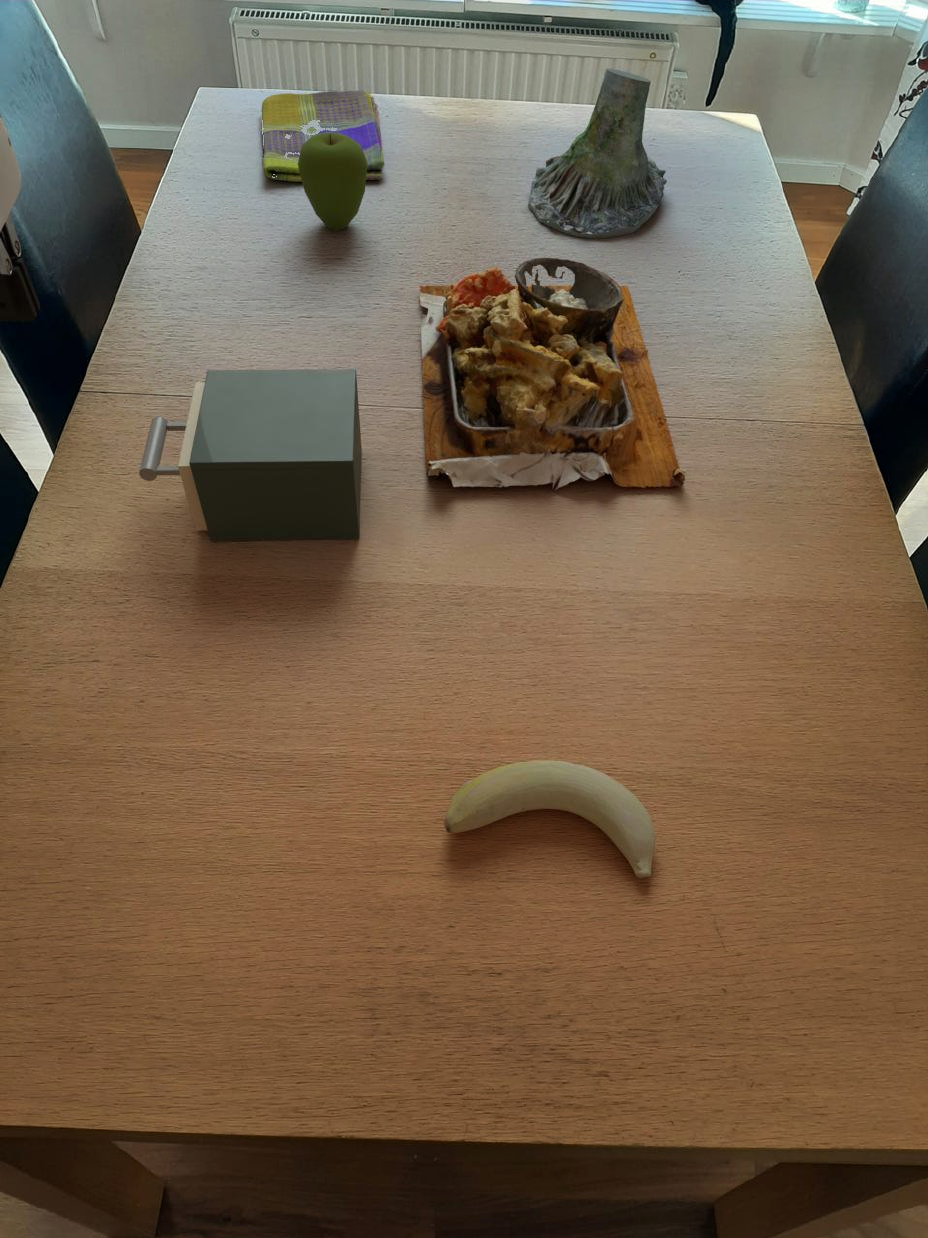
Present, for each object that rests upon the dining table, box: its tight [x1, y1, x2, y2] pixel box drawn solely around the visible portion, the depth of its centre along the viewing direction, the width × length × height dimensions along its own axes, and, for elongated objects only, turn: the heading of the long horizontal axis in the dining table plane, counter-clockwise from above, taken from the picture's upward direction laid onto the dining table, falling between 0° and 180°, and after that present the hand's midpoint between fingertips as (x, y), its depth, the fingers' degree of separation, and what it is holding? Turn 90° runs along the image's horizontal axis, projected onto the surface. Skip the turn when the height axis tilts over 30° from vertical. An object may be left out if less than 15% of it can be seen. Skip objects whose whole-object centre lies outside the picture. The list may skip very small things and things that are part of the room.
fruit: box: [443, 759, 656, 879], centre depth 66 cm, size 7×15×3 cm, turn 78°
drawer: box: [138, 381, 208, 531], centre depth 83 cm, size 17×11×8 cm
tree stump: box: [527, 68, 668, 239], centre depth 120 cm, size 18×20×18 cm
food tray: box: [418, 257, 687, 493], centre depth 95 cm, size 35×26×11 cm
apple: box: [298, 132, 368, 232], centre depth 113 cm, size 9×8×12 cm
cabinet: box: [189, 368, 363, 543], centre depth 83 cm, size 14×13×10 cm
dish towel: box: [260, 89, 385, 183], centre depth 131 cm, size 18×24×3 cm
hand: (16, 314), depth 66 cm, fingers closed
